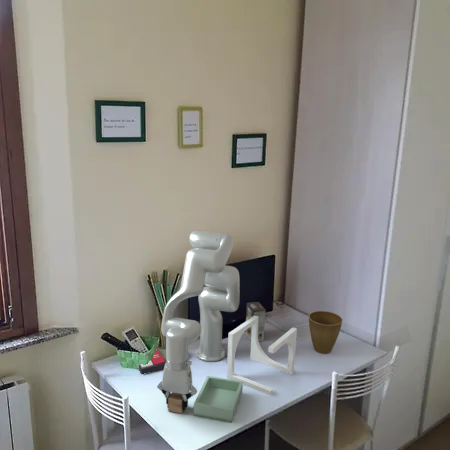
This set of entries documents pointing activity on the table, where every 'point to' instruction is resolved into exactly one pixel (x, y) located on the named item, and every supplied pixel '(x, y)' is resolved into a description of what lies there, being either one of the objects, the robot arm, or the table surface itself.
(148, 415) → the table surface
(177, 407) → the cube
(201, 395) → the tote
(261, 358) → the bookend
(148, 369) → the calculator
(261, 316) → the coffee box
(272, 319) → the table surface
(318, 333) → the plant pot
